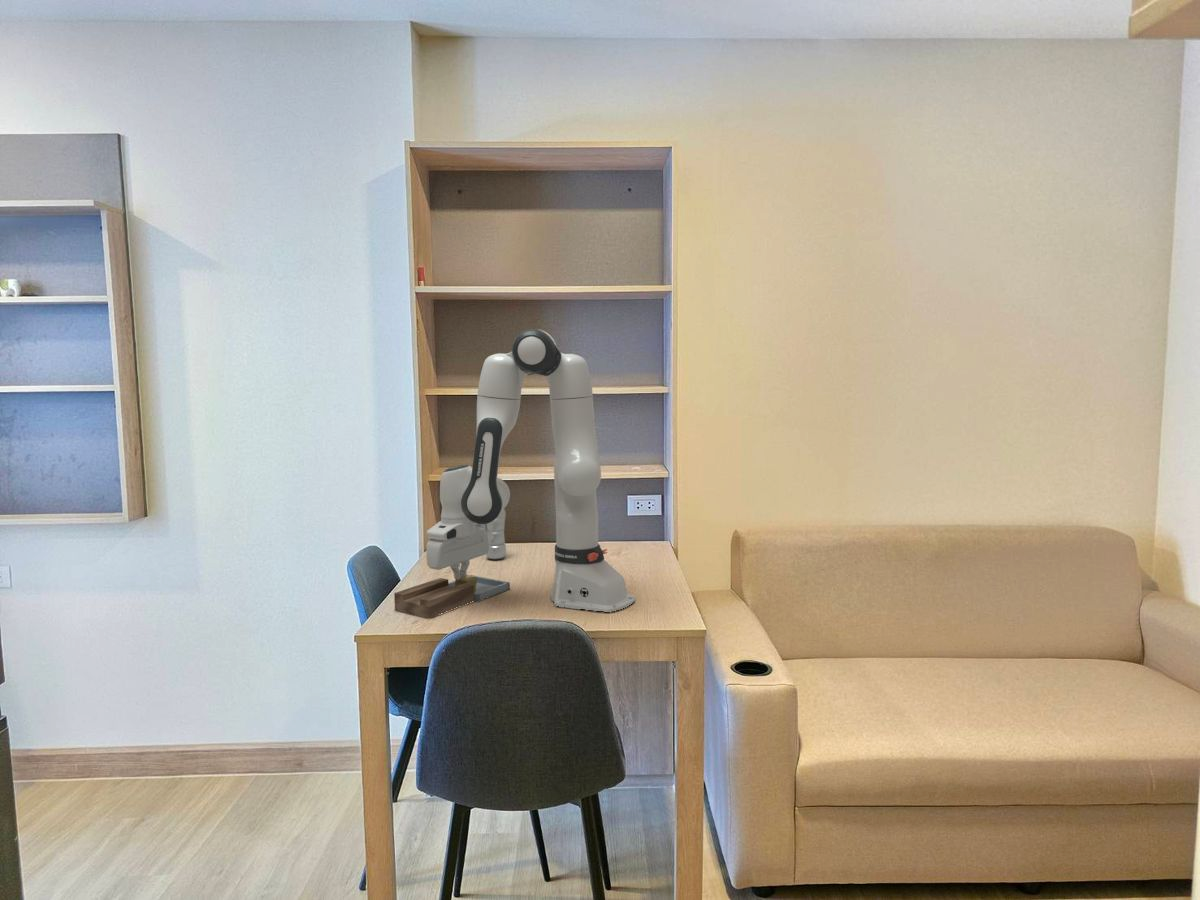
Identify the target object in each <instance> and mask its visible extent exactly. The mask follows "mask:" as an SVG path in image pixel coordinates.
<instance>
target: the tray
mask: <svg viewBox="0 0 1200 900" xmlns="http://www.w3.org/2000/svg"><path fill="white" fill-rule="evenodd" d="M471 576H476V577H477V584H476V592H474V602H476V601H479V602H481V601H480V600H482V599H484V600H486V599H485V598H487V597H489V598H491V597H490V596H492V597H494V596H497V595H499V594H502V593H504V591H505V592H507V591H509V590H510V589H511V588H510V587H511V583H510V581H505V580H501V579H495V578H489V577H484V576H478V575H473V574H471ZM455 581H456V579H455V580H452V581H448V584H449V585H451V586H455ZM506 590H507V591H506ZM501 592H502V593H501ZM498 593H499V594H498ZM496 594H497V595H496ZM493 595H494V596H493ZM487 599H488V598H487ZM482 601H483V600H482Z"/></svg>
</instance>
